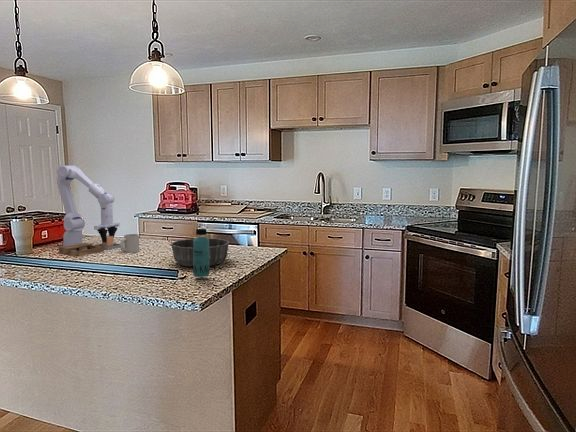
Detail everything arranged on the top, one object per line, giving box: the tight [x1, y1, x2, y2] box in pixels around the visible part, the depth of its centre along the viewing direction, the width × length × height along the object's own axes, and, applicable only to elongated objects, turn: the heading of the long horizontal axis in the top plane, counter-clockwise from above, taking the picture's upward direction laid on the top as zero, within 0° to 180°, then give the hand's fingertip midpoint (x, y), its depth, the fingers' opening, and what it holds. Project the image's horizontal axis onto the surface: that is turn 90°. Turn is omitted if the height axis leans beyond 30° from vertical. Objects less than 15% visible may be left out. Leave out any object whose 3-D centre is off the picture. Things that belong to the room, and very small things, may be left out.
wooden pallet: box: [58, 242, 105, 258], centre depth 203 cm, size 15×14×4 cm
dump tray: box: [94, 242, 121, 251], centre depth 217 cm, size 11×10×2 cm
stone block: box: [101, 235, 115, 247], centre depth 216 cm, size 4×4×5 cm
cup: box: [119, 233, 140, 254], centre depth 207 cm, size 7×10×9 cm
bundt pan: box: [170, 237, 230, 268], centre depth 186 cm, size 26×26×10 cm
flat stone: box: [77, 246, 87, 251], centre depth 208 cm, size 4×4×2 cm
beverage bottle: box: [192, 228, 211, 278], centre depth 159 cm, size 6×7×20 cm
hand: (107, 241), depth 216 cm, fingers closed on stone block, 4 cm apart
